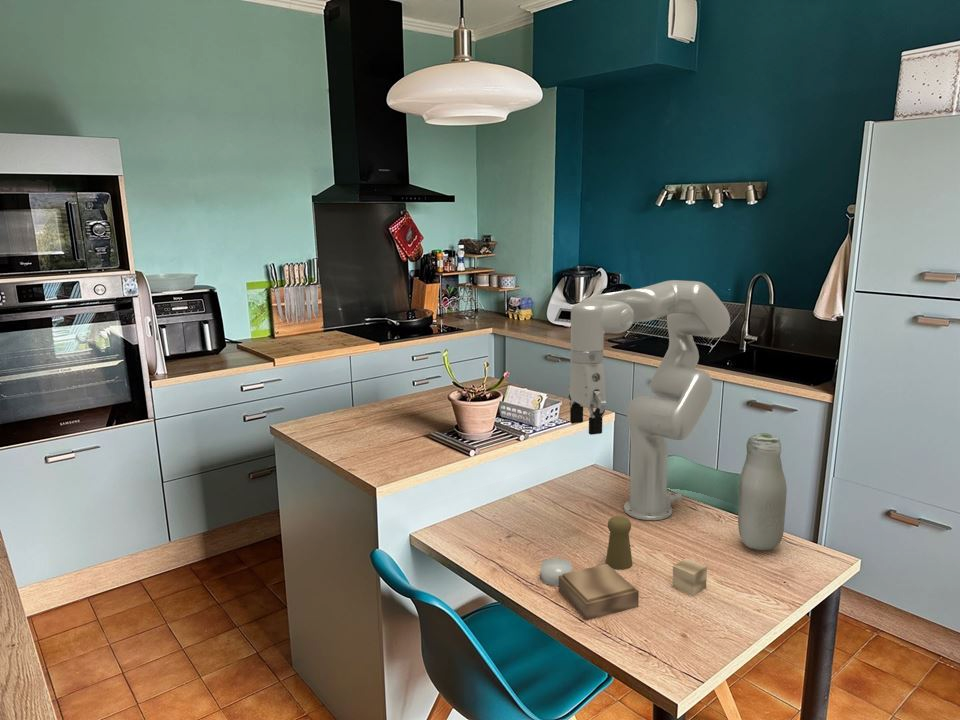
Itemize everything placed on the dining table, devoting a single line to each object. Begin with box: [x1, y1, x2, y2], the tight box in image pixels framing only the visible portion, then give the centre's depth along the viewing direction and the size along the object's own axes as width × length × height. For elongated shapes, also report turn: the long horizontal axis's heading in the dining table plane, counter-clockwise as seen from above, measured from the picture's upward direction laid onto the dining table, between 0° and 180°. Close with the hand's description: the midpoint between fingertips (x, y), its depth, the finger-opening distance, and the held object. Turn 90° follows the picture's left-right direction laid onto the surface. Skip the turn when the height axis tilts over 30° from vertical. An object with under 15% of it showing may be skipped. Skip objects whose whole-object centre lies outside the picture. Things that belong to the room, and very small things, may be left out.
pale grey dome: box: [540, 557, 573, 587], centre depth 152 cm, size 7×7×3 cm
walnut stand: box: [558, 563, 640, 621], centre depth 143 cm, size 12×12×4 cm
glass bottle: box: [737, 432, 788, 551], centre depth 160 cm, size 10×10×28 cm
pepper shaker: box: [605, 515, 633, 570], centre depth 157 cm, size 6×6×11 cm
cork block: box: [671, 557, 708, 597], centre depth 146 cm, size 5×5×5 cm
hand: (585, 428), depth 162 cm, fingers open, 9 cm apart
